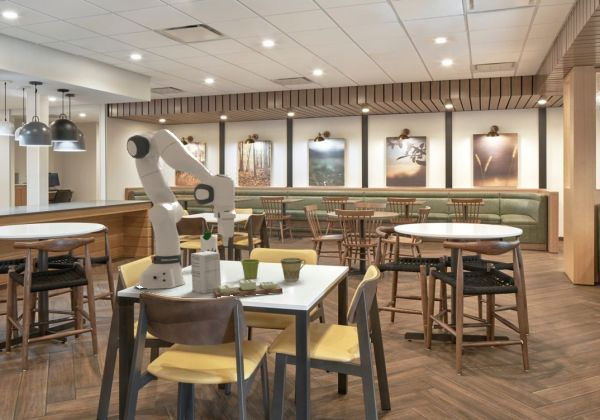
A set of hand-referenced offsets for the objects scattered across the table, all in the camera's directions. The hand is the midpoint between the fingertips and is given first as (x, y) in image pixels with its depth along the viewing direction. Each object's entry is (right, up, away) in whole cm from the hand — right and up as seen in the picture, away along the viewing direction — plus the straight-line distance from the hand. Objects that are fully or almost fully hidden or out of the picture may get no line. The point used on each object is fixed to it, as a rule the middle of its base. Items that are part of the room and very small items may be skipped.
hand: (225, 245), depth 210 cm
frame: (+9, -21, +4) cm, 23 cm away
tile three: (+18, -20, +6) cm, 27 cm away
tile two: (+9, -18, +4) cm, 21 cm away
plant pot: (+7, -19, +37) cm, 42 cm away
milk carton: (-19, -17, +71) cm, 75 cm away
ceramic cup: (+29, -19, +31) cm, 46 cm away
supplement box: (-10, -21, +11) cm, 25 cm away
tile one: (0, -20, +1) cm, 20 cm away
